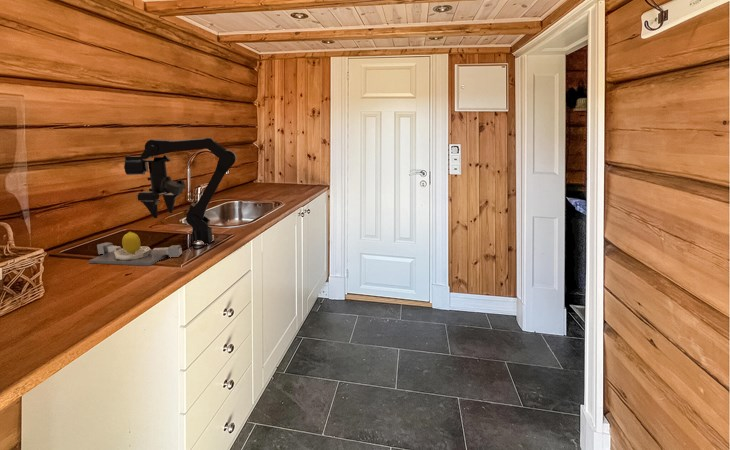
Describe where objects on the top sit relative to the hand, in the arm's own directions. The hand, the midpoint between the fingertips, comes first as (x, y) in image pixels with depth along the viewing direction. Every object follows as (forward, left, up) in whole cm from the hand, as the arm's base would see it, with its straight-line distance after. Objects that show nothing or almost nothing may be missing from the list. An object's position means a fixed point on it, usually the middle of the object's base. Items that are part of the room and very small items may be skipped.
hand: (163, 215), depth 152 cm
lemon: (+3, +15, -11) cm, 19 cm away
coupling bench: (+3, +15, -12) cm, 19 cm away
